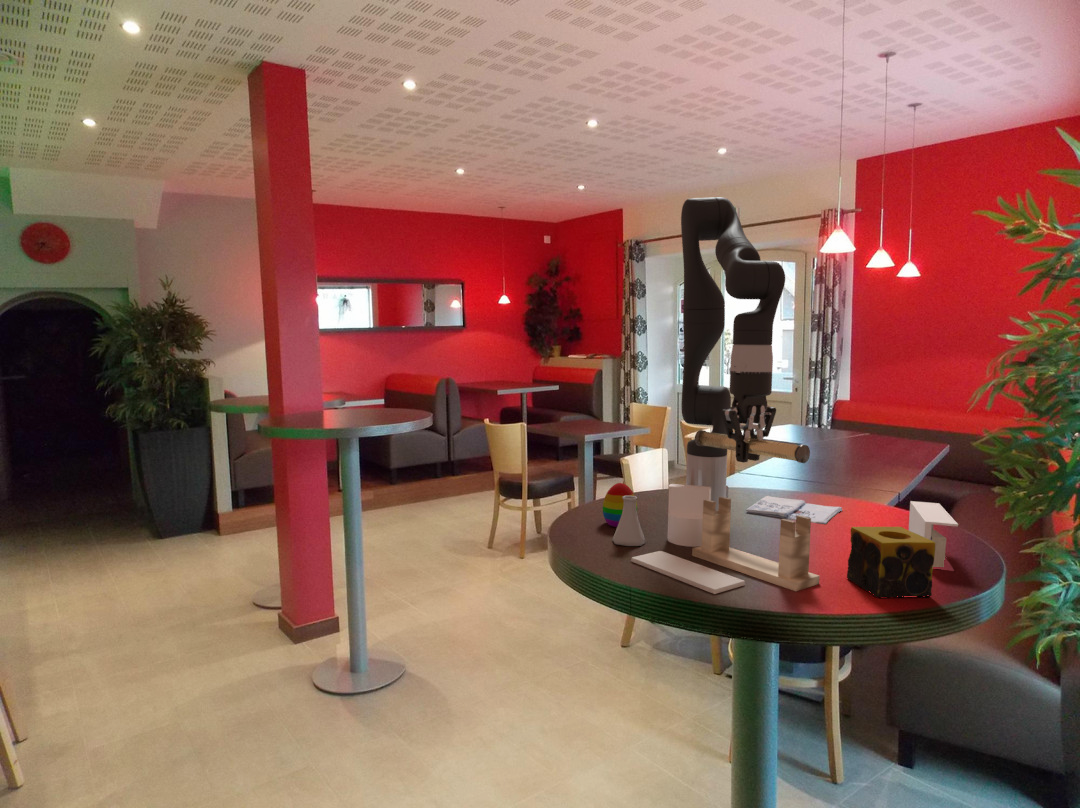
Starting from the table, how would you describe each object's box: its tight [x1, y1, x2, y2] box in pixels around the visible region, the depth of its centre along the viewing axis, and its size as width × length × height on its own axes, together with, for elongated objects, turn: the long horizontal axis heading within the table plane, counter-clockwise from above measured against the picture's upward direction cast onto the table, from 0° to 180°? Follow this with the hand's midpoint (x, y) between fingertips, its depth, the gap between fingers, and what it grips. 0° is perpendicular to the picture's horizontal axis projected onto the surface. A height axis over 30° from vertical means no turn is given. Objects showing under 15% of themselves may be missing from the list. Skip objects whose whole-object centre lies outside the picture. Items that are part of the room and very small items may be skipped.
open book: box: [745, 495, 843, 525], centre depth 177 cm, size 19×20×2 cm
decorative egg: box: [602, 482, 638, 528], centre depth 162 cm, size 8×8×10 cm
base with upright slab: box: [667, 483, 711, 548], centre depth 149 cm, size 9×9×12 cm
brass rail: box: [694, 429, 811, 464], centre depth 129 cm, size 24×3×3 cm, turn 36°
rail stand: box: [691, 497, 821, 592], centre depth 131 cm, size 7×24×12 cm, turn 35°
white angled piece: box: [908, 500, 959, 567], centre depth 141 cm, size 20×6×9 cm, turn 160°
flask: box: [611, 495, 647, 547], centre depth 147 cm, size 7×7×10 cm
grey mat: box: [630, 550, 746, 595], centre depth 128 cm, size 8×21×1 cm, turn 35°
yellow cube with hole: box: [846, 526, 935, 598], centre depth 121 cm, size 10×10×10 cm
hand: (747, 460), depth 129 cm, fingers closed on brass rail, 2 cm apart
